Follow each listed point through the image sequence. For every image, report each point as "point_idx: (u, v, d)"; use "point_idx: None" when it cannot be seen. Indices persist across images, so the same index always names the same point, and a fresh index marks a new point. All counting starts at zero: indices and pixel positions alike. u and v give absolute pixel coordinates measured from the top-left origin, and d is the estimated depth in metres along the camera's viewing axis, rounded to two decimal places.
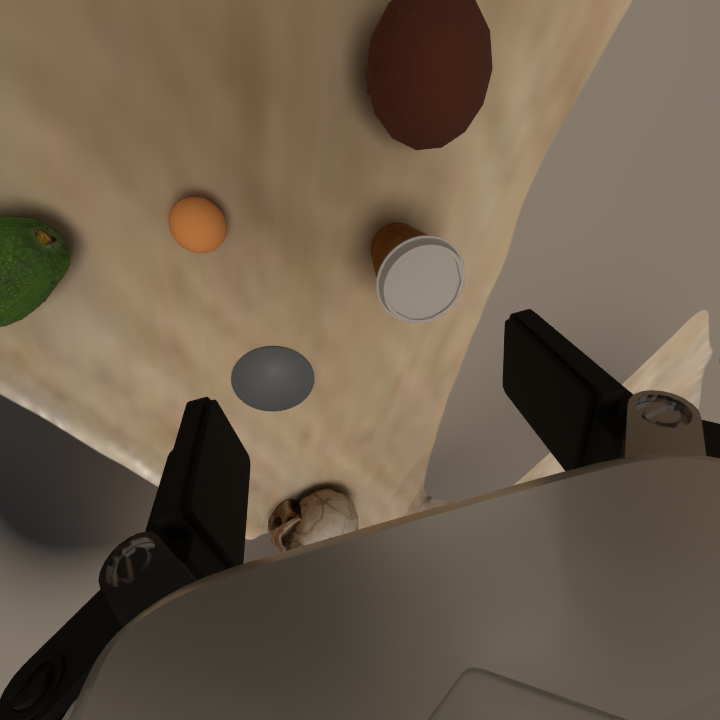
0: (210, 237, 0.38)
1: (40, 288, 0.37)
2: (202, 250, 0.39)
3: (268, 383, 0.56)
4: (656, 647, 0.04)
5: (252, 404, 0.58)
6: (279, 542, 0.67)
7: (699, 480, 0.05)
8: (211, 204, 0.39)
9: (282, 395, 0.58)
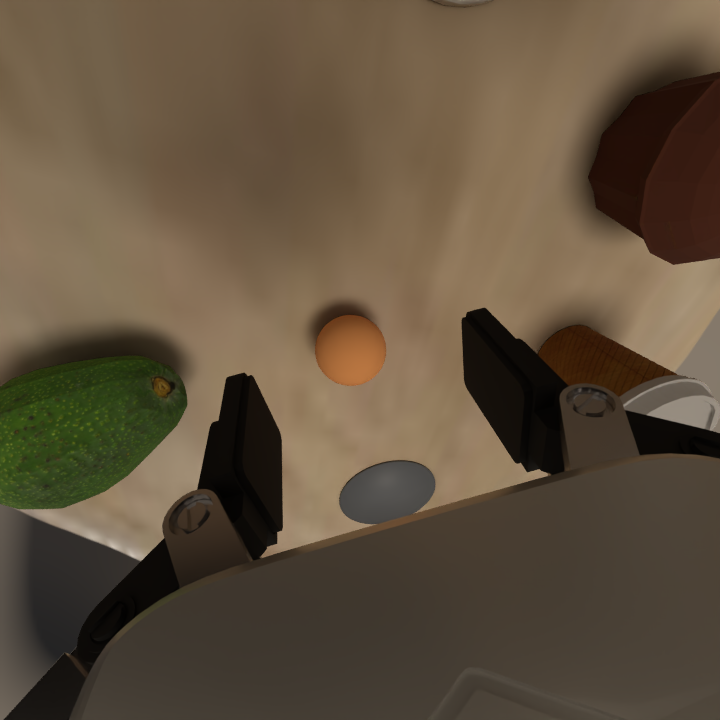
0: (374, 372, 0.29)
1: (151, 449, 0.27)
2: (357, 384, 0.30)
3: (381, 497, 0.46)
4: (656, 647, 0.04)
5: (358, 519, 0.48)
6: None
7: (699, 480, 0.05)
8: (374, 326, 0.29)
9: (394, 507, 0.48)
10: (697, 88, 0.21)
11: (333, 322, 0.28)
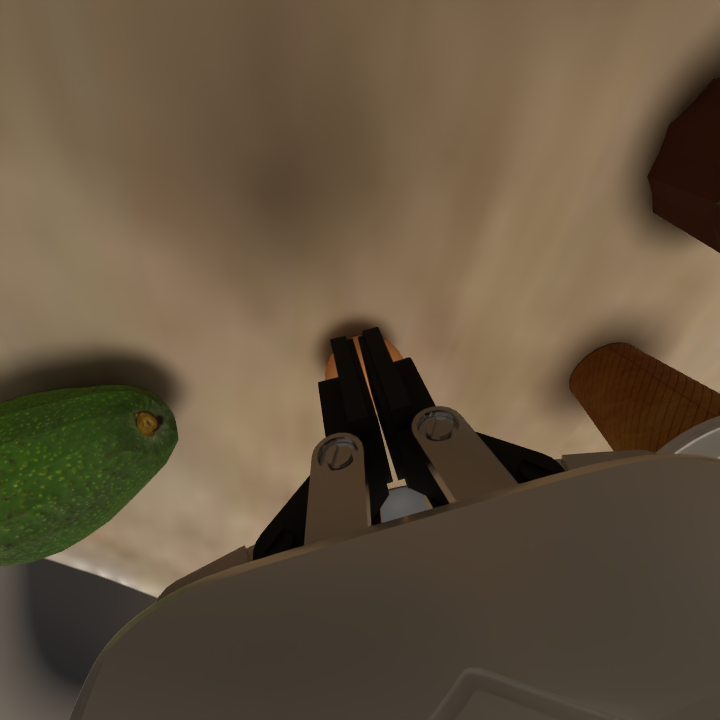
0: None
1: (136, 492, 0.23)
2: None
3: None
4: (656, 647, 0.04)
5: None
6: None
7: (699, 480, 0.05)
8: (394, 350, 0.25)
9: None
10: None
11: None
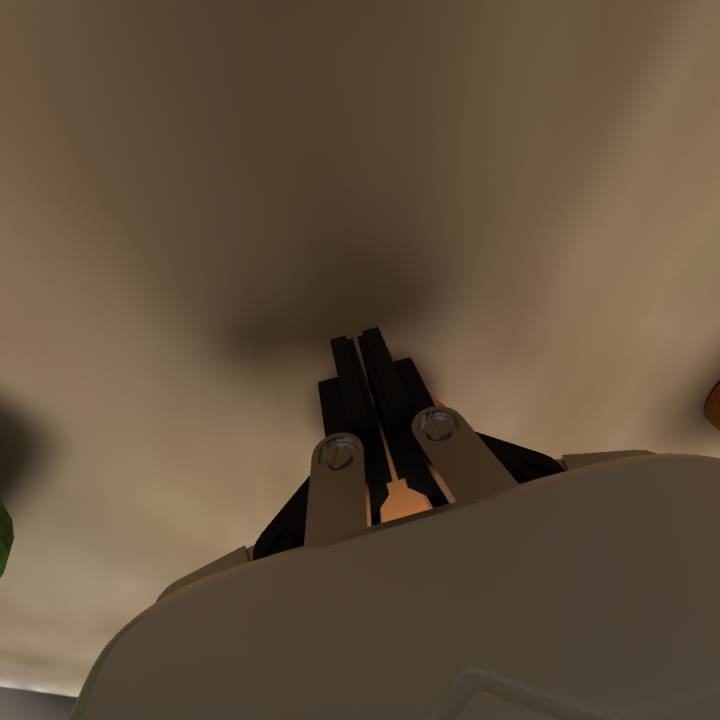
0: None
1: None
2: None
3: None
4: (656, 647, 0.04)
5: None
6: None
7: (699, 480, 0.05)
8: None
9: None
10: None
11: None
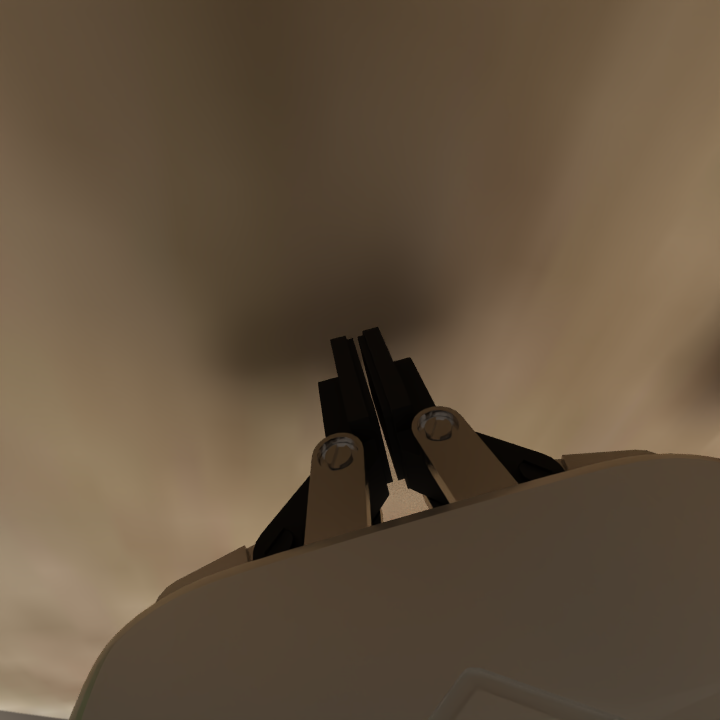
0: None
1: None
2: None
3: None
4: (656, 647, 0.04)
5: None
6: None
7: (699, 480, 0.05)
8: None
9: None
10: None
11: None
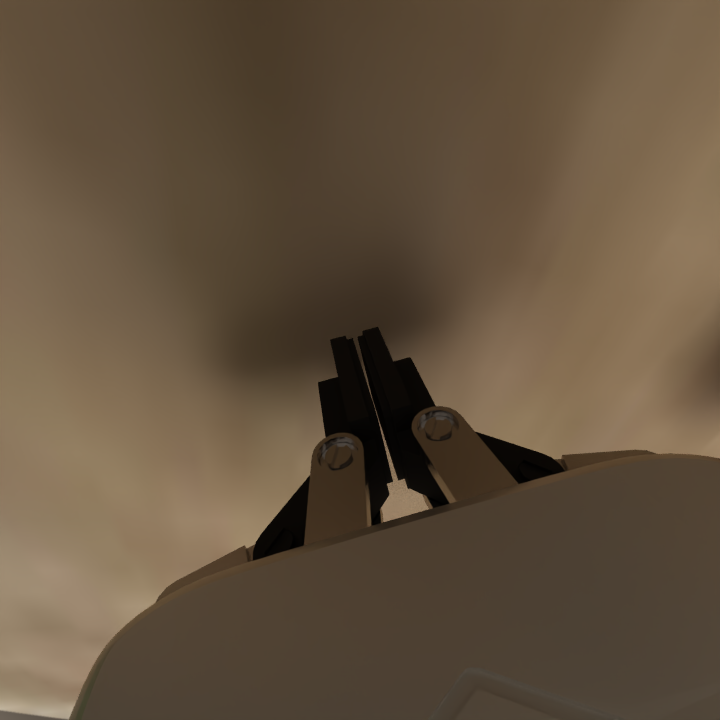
0: None
1: None
2: None
3: None
4: (656, 647, 0.04)
5: None
6: None
7: (699, 480, 0.05)
8: None
9: None
10: None
11: None
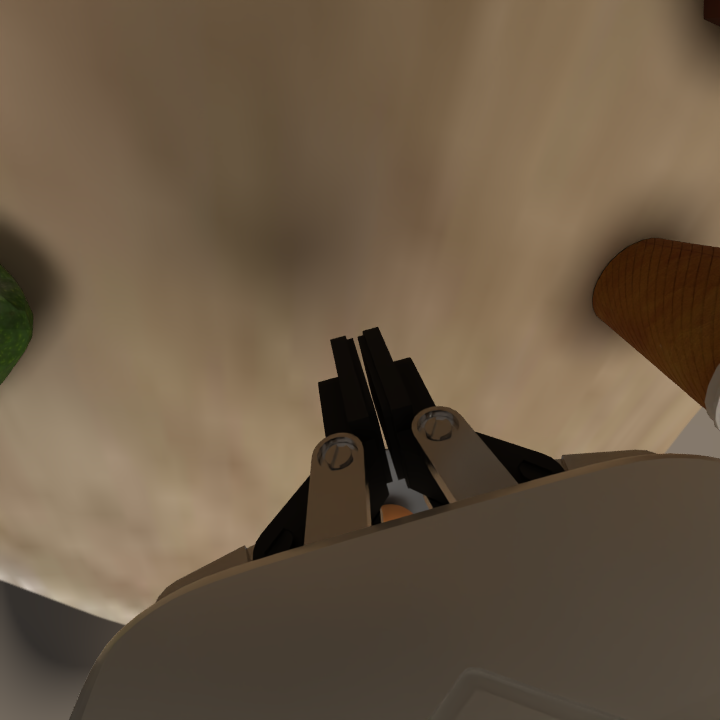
0: None
1: None
2: None
3: None
4: (656, 647, 0.04)
5: None
6: None
7: (699, 480, 0.05)
8: None
9: None
10: None
11: None
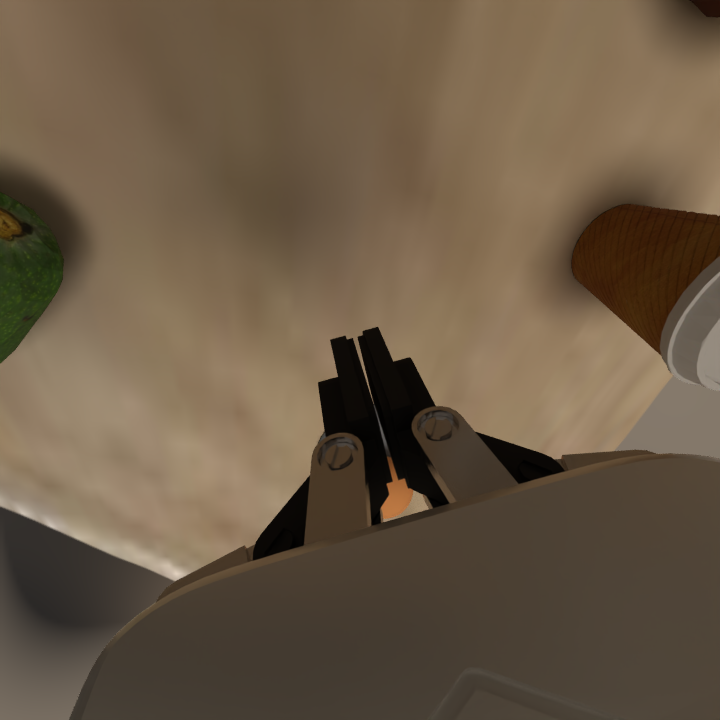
0: None
1: None
2: None
3: None
4: (656, 647, 0.04)
5: None
6: None
7: (699, 480, 0.05)
8: None
9: None
10: None
11: None
